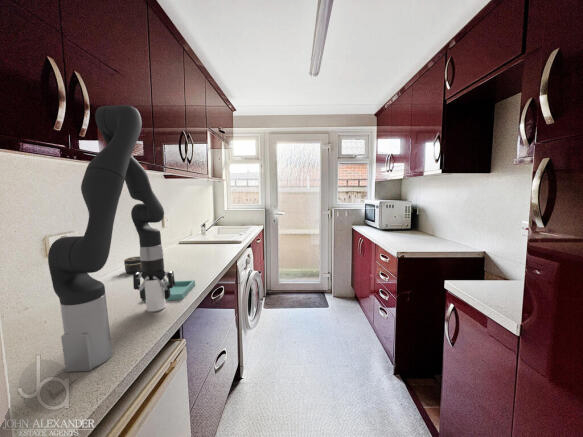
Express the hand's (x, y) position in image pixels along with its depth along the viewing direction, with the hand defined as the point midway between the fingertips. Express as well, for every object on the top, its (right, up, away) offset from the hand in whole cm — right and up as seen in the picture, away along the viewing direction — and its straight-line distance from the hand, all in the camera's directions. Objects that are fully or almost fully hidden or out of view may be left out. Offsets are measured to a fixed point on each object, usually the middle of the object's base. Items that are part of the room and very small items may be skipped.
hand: (155, 299), depth 99 cm
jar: (-35, 0, +47) cm, 59 cm away
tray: (-1, -2, +15) cm, 15 cm away
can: (0, -4, 0) cm, 4 cm away
